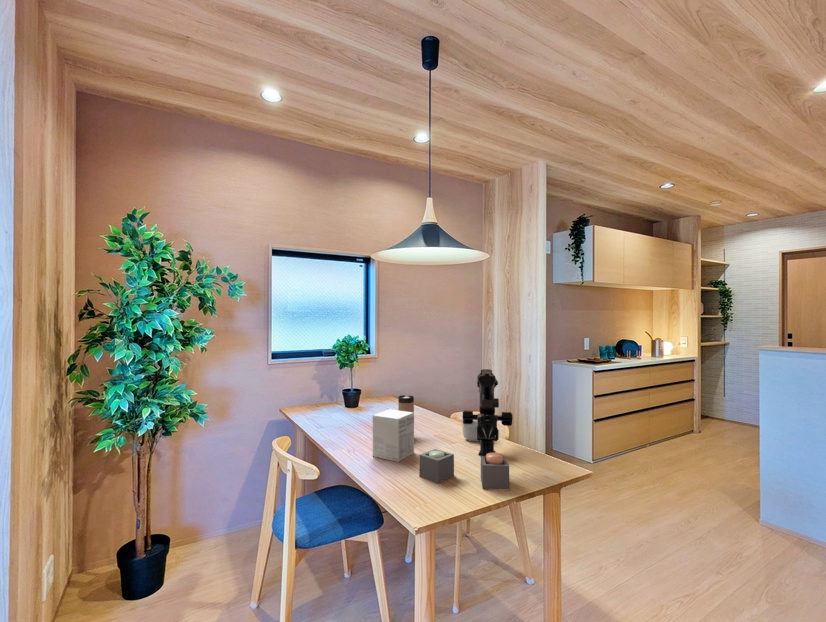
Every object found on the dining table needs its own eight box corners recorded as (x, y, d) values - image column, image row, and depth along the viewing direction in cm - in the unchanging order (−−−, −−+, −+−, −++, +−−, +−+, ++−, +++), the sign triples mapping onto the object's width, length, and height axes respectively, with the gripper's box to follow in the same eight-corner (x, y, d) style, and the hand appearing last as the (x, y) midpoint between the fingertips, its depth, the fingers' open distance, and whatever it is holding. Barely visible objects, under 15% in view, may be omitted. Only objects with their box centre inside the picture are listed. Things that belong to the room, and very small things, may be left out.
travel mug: (404, 441, 192) (404, 398, 192) (395, 437, 198) (395, 396, 198) (417, 438, 196) (417, 396, 196) (408, 434, 202) (407, 394, 203)
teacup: (480, 444, 187) (480, 427, 187) (458, 441, 192) (458, 424, 192) (490, 436, 199) (490, 420, 199) (469, 433, 204) (469, 417, 204)
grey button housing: (435, 469, 156) (435, 448, 156) (454, 476, 150) (453, 454, 150) (419, 476, 150) (419, 454, 150) (438, 483, 143) (438, 460, 143)
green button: (435, 457, 154) (435, 449, 154) (447, 461, 150) (447, 453, 150) (425, 461, 150) (425, 453, 150) (437, 465, 146) (437, 456, 146)
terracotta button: (485, 460, 146) (485, 452, 146) (501, 461, 145) (501, 452, 145) (487, 466, 140) (486, 457, 140) (503, 467, 140) (503, 458, 140)
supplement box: (415, 452, 176) (414, 412, 176) (398, 462, 164) (398, 418, 165) (389, 448, 183) (389, 408, 183) (371, 456, 171) (371, 414, 171)
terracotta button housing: (480, 478, 148) (480, 456, 148) (506, 479, 147) (505, 456, 147) (482, 488, 139) (482, 465, 139) (509, 489, 138) (509, 466, 138)
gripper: (462, 389, 158) (461, 425, 147) (512, 391, 155) (514, 428, 144) (463, 405, 166) (462, 441, 155) (510, 407, 162) (513, 443, 151)
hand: (487, 438), depth 151 cm, fingers closed
